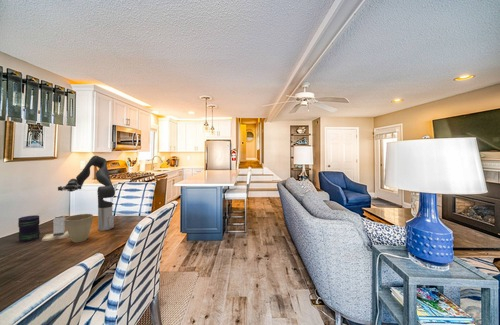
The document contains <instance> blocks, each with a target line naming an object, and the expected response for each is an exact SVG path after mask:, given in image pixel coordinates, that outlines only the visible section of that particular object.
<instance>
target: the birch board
mask: <svg viewBox="0 0 500 325" xmlns="http://www.w3.org/2000/svg"><path fill="white" fill-rule="evenodd" d="M53 234H54V232H52V233H47V234H45V235H44V236H43V237H42V239H41V242H47V241H49V242H50V241H54V240H62V239H69V238H70V236H69V233H68V231H65V233H64V235H62V236H55V237H54V236H53Z"/></svg>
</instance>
